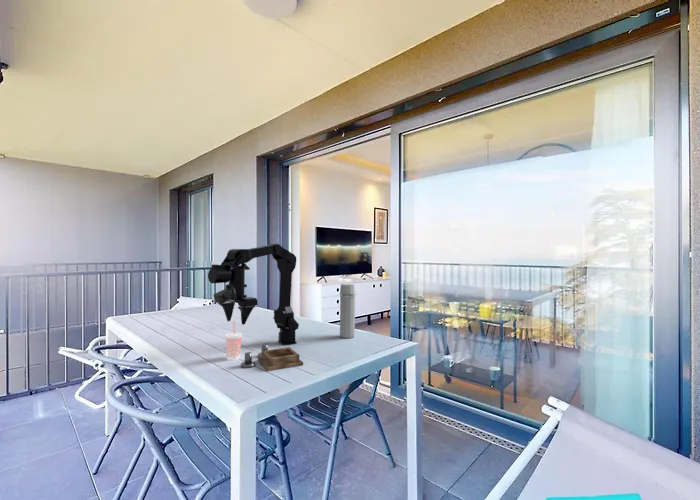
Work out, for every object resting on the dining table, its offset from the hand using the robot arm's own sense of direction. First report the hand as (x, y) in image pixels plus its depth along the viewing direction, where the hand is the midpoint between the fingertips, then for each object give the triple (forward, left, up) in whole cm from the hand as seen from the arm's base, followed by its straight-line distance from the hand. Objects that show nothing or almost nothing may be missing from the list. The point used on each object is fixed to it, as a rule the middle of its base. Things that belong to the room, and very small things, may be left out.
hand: (235, 322), depth 129 cm
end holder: (-13, +13, -13) cm, 23 cm away
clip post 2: (-10, +3, -13) cm, 17 cm away
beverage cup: (+1, 0, -14) cm, 14 cm away
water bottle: (-52, -7, -14) cm, 54 cm away
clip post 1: (-2, +11, -13) cm, 18 cm away
